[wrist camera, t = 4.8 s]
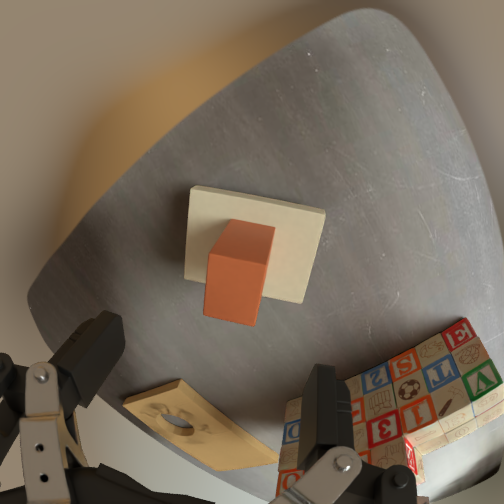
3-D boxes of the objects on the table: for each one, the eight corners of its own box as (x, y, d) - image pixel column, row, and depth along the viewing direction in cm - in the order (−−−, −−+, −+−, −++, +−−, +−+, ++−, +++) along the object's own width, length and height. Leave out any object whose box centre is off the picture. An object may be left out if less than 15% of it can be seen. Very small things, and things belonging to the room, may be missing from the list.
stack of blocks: (465, 313, 23) (519, 410, 12) (475, 349, 25) (515, 437, 14) (284, 401, 31) (273, 500, 20) (312, 425, 32) (307, 513, 21)
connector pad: (194, 263, 25) (155, 322, 18) (201, 181, 22) (154, 214, 15) (301, 286, 24) (300, 355, 17) (323, 204, 21) (334, 250, 14)
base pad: (126, 397, 36) (121, 405, 35) (181, 378, 32) (177, 387, 30) (218, 464, 41) (216, 471, 40) (279, 454, 37) (278, 462, 35)
